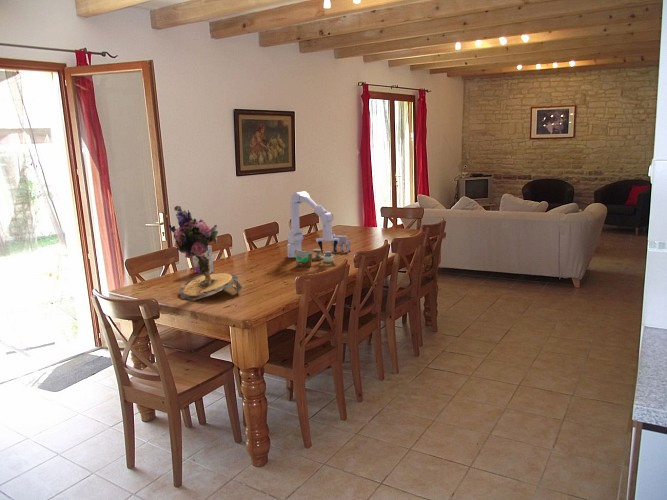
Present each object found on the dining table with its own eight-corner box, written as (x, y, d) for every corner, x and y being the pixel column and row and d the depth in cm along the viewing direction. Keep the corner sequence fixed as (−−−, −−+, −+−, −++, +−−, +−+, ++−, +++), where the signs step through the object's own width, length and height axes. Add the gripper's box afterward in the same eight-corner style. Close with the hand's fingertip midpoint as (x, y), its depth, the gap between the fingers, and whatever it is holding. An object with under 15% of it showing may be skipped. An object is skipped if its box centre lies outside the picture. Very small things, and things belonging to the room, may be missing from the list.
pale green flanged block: (323, 262, 338) (323, 257, 338) (324, 259, 346) (323, 254, 345) (333, 262, 338) (333, 256, 337) (333, 259, 346) (333, 254, 345)
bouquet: (142, 293, 269) (158, 205, 273) (216, 301, 300) (229, 223, 305) (175, 300, 246) (192, 204, 250) (252, 309, 277) (266, 224, 281)
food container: (291, 266, 330) (290, 251, 328) (296, 264, 335) (295, 249, 333) (308, 268, 324) (307, 252, 322) (313, 266, 330) (312, 250, 327)
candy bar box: (193, 273, 322) (190, 246, 319) (197, 271, 327) (195, 245, 324) (210, 273, 319) (207, 247, 316) (214, 271, 324) (211, 245, 321)
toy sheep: (320, 252, 370) (319, 232, 368) (325, 249, 380) (325, 230, 378) (348, 253, 364) (347, 233, 362) (352, 250, 374) (352, 231, 372)
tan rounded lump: (311, 260, 346) (311, 251, 345) (312, 257, 354) (312, 248, 353) (324, 259, 346) (323, 250, 345) (324, 257, 354) (324, 248, 353)
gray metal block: (325, 260, 340) (325, 252, 339) (325, 258, 344) (325, 251, 343) (331, 259, 340) (331, 252, 339) (331, 258, 344) (331, 251, 343)
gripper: (315, 233, 334) (316, 254, 337) (338, 232, 334) (339, 253, 337) (316, 231, 341) (317, 252, 344) (339, 230, 341) (339, 251, 344)
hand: (328, 252), depth 341 cm, fingers open, 7 cm apart
